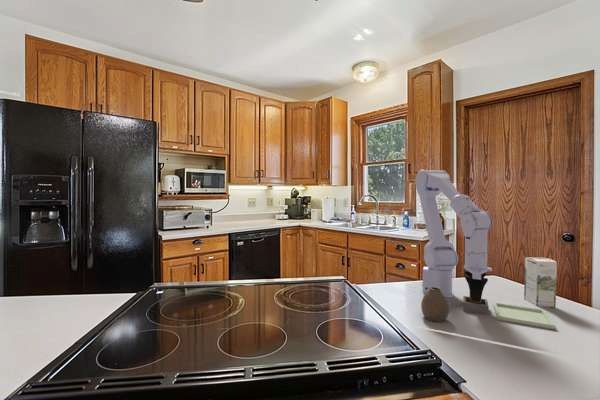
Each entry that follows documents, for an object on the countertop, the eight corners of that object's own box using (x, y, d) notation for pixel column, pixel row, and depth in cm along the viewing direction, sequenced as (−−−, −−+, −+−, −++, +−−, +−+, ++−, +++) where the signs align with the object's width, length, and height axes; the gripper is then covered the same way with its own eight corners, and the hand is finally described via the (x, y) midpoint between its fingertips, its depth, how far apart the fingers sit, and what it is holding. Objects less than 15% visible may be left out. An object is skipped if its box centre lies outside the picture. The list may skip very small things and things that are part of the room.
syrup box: (542, 301, 95) (543, 256, 95) (556, 308, 89) (557, 260, 89) (523, 300, 95) (524, 256, 95) (536, 307, 89) (537, 260, 89)
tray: (497, 321, 79) (497, 315, 79) (493, 307, 90) (493, 302, 90) (555, 331, 73) (555, 325, 73) (543, 315, 84) (543, 309, 84)
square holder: (463, 312, 86) (463, 302, 86) (463, 305, 91) (463, 295, 91) (488, 316, 83) (488, 306, 83) (486, 309, 88) (486, 299, 88)
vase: (452, 326, 76) (452, 293, 76) (424, 324, 78) (424, 291, 77) (444, 316, 83) (445, 285, 83) (418, 314, 84) (419, 283, 84)
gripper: (494, 257, 78) (493, 308, 78) (489, 249, 91) (489, 292, 91) (464, 255, 82) (463, 303, 82) (463, 247, 94) (463, 289, 95)
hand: (475, 297), depth 87 cm, fingers open, 5 cm apart
